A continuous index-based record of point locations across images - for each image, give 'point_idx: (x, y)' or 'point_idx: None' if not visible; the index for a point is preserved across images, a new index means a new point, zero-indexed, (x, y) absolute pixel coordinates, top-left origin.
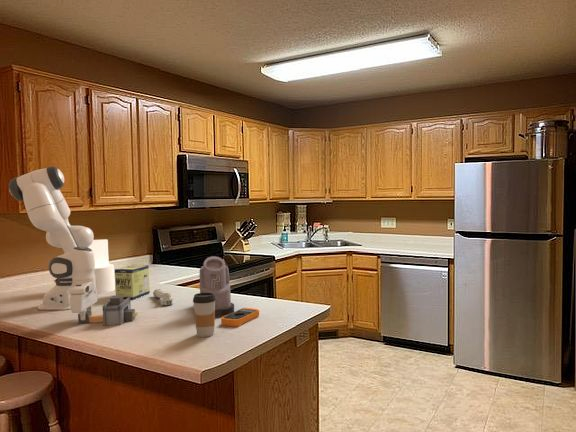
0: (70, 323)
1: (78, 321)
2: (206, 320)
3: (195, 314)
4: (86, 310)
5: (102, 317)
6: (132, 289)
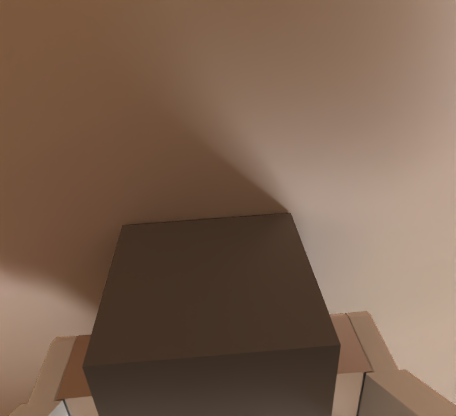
0: (137, 63)
1: (117, 247)
2: None
3: None
4: (396, 406)
5: None
6: None
